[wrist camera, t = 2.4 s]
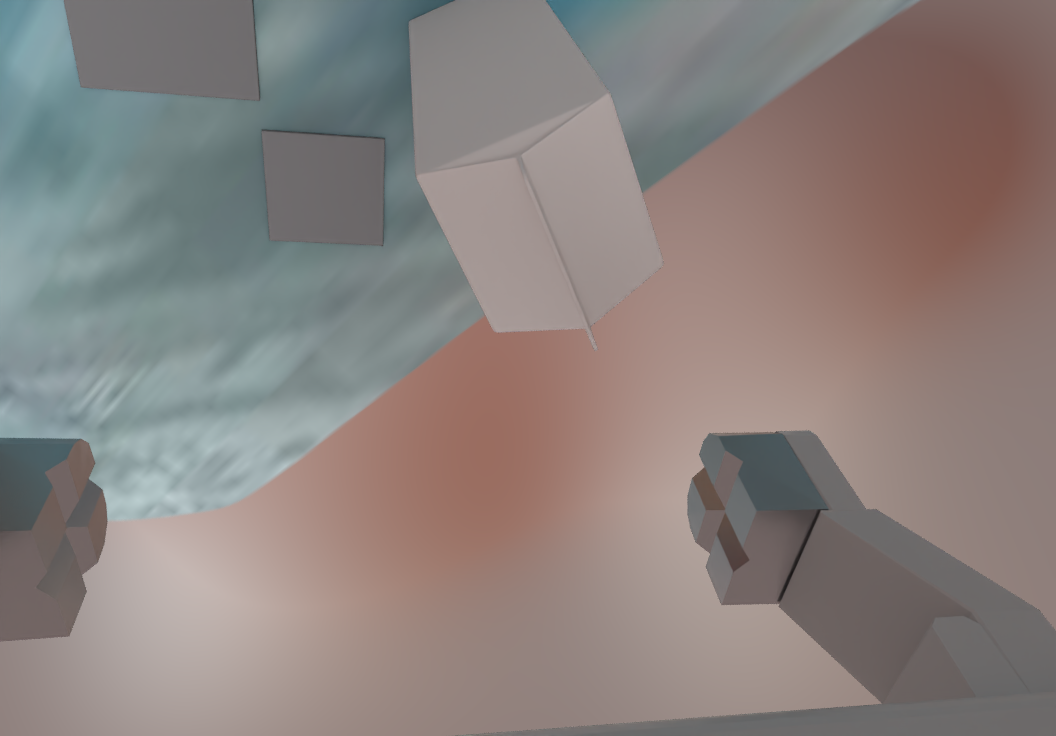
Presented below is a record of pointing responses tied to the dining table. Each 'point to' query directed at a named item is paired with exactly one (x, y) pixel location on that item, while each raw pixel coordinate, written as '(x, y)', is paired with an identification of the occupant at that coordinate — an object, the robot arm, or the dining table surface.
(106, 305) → the dining table surface
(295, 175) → the grey square coaster
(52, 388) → the dining table surface
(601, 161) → the milk
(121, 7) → the thin grey square tile
